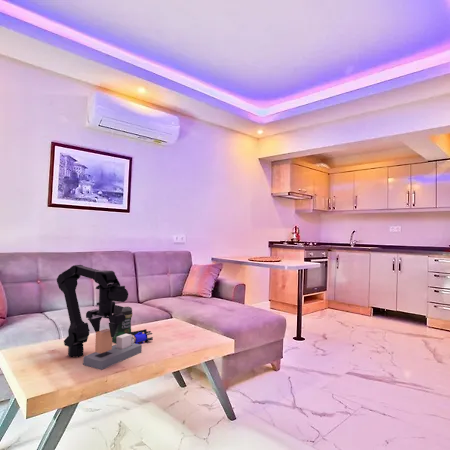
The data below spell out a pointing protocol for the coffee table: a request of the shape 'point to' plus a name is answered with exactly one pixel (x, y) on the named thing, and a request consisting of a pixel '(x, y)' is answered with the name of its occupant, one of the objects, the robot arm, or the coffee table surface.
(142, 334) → the character figurine
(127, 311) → the coffee jar
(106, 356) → the header
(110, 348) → the terracotta plug
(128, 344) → the pale pink plug
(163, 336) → the coffee table surface
